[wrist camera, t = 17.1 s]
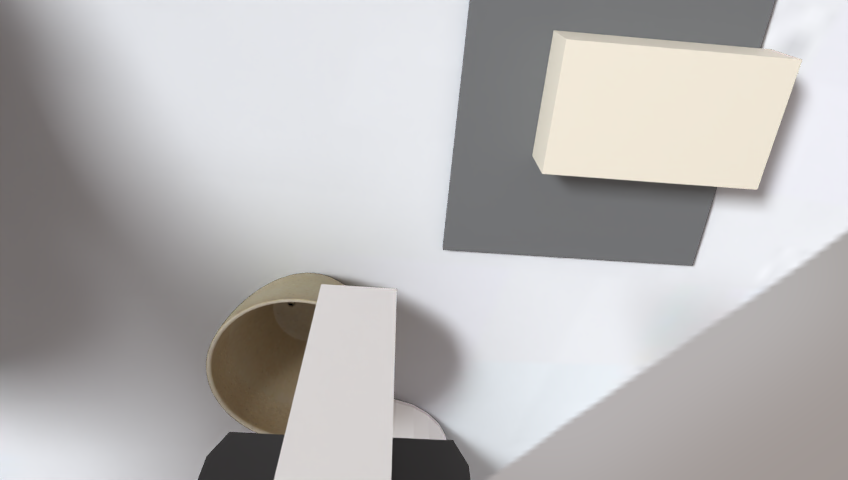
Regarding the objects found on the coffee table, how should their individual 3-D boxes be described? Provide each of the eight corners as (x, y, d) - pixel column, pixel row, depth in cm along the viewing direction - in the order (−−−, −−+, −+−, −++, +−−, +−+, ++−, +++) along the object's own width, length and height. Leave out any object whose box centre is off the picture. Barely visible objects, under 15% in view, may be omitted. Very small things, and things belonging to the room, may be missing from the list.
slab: (542, 173, 34) (757, 189, 34) (566, 39, 31) (802, 59, 31) (532, 155, 36) (731, 170, 37) (553, 30, 33) (770, 49, 34)
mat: (442, 246, 39) (443, 249, 39) (487, -167, 30) (488, -168, 29) (689, 262, 40) (692, 265, 40) (812, -133, 31) (817, -134, 30)
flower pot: (278, 384, 44) (256, 462, 38) (209, 267, 40) (171, 333, 33) (411, 342, 43) (413, 416, 36) (355, 217, 38) (345, 275, 32)
